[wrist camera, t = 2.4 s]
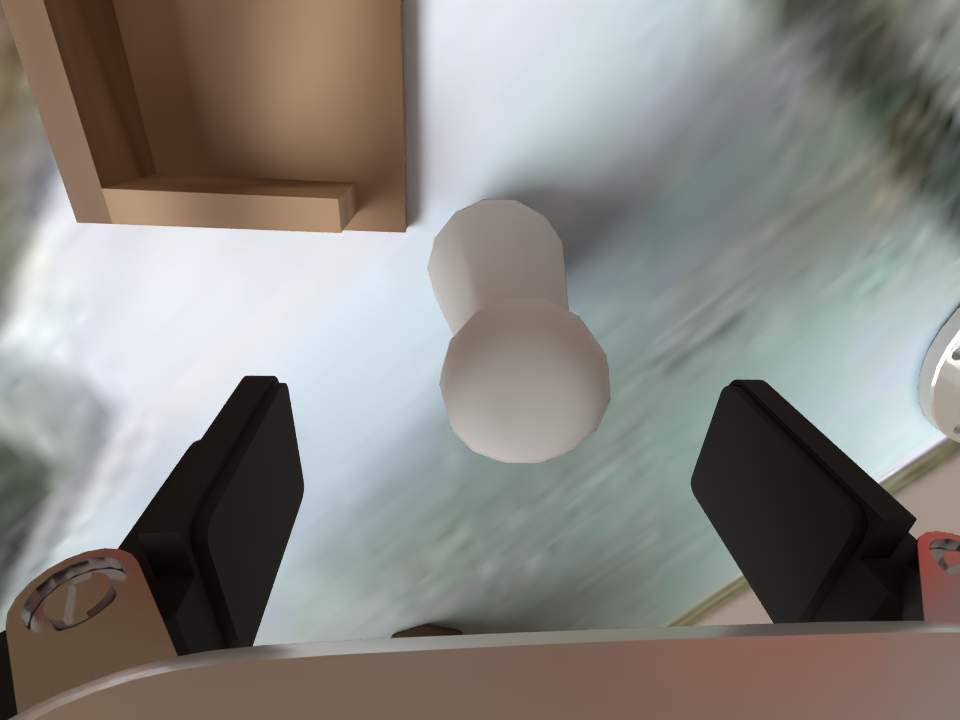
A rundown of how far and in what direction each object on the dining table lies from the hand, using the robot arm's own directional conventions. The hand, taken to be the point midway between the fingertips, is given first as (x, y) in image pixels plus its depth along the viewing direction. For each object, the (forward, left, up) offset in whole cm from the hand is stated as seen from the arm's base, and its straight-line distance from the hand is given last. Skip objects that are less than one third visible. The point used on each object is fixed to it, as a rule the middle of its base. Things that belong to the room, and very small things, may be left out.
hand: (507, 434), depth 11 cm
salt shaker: (-1, 0, -14) cm, 14 cm away
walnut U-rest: (+9, -7, -14) cm, 18 cm away
